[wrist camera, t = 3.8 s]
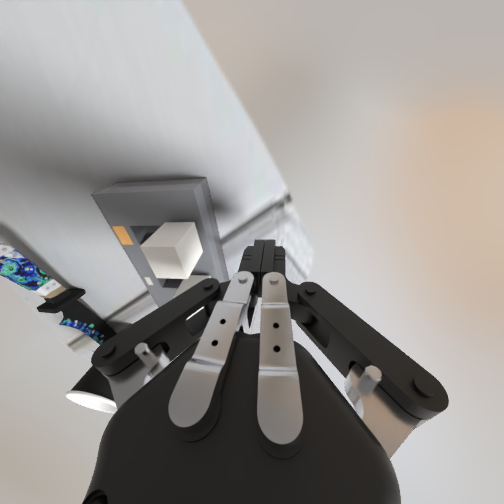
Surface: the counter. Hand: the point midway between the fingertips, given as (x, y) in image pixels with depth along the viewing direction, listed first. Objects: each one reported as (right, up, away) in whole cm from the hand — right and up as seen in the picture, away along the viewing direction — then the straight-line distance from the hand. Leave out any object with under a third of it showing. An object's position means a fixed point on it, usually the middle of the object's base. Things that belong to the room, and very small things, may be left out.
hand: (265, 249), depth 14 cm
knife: (-28, -8, +18) cm, 34 cm away
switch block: (-9, -2, +9) cm, 12 cm away
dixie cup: (-22, -15, +22) cm, 34 cm away
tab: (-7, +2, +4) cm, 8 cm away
